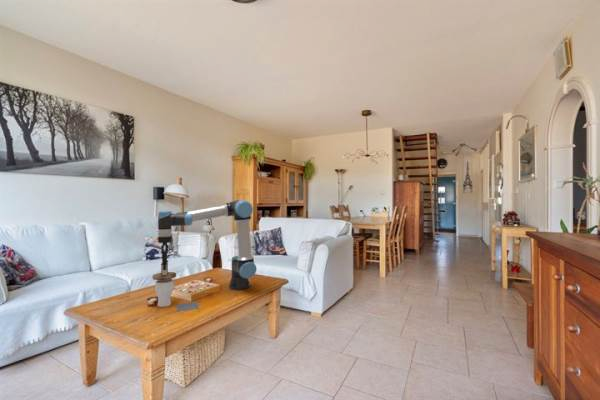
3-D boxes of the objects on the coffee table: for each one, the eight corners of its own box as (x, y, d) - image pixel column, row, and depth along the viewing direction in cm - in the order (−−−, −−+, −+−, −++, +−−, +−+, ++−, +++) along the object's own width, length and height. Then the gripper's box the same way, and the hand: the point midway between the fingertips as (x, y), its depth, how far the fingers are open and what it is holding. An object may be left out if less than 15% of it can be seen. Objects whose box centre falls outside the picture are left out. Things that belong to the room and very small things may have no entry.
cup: (166, 309, 167) (166, 283, 167) (150, 307, 169) (150, 282, 169) (177, 302, 177) (177, 279, 177) (162, 301, 179) (162, 277, 179)
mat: (197, 302, 178) (197, 301, 178) (199, 309, 167) (199, 308, 167) (176, 305, 173) (176, 304, 173) (177, 312, 162) (177, 311, 162)
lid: (176, 273, 181) (176, 260, 181) (176, 278, 170) (176, 264, 170) (153, 275, 176) (153, 262, 176) (151, 281, 164) (151, 266, 164)
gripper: (158, 234, 179) (158, 271, 179) (157, 237, 164) (157, 278, 164) (171, 234, 182) (171, 270, 182) (171, 237, 167) (171, 277, 167)
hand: (164, 274), depth 173 cm, fingers closed on lid, 3 cm apart
